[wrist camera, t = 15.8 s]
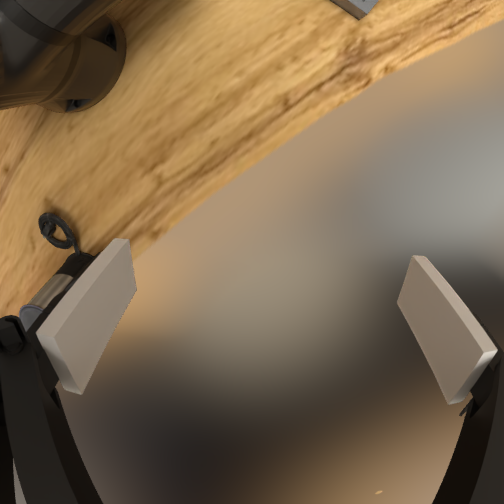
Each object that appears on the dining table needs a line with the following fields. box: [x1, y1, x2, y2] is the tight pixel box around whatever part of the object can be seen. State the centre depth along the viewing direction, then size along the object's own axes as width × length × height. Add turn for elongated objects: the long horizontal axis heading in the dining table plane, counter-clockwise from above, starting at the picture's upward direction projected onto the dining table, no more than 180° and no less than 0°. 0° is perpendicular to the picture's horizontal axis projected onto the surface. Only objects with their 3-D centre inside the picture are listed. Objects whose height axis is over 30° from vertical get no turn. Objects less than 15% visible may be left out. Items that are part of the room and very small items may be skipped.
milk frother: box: [19, 213, 101, 332], centre depth 38 cm, size 14×16×15 cm
